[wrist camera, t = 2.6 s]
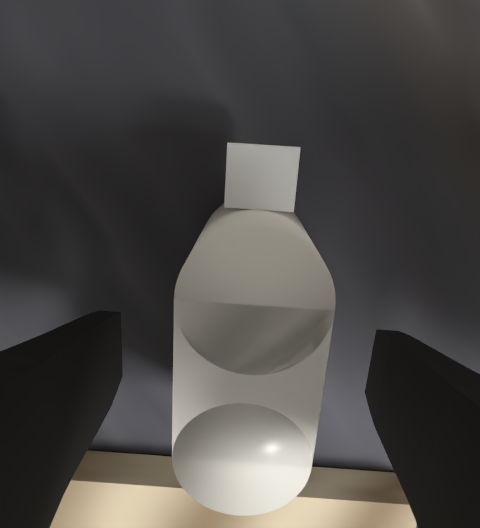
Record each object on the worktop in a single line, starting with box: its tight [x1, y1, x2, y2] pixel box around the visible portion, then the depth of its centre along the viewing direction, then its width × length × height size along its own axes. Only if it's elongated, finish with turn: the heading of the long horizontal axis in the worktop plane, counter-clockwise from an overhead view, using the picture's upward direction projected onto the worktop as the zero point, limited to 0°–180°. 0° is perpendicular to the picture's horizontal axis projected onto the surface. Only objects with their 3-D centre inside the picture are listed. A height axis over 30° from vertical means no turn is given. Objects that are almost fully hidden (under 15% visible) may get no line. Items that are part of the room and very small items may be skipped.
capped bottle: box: [172, 142, 336, 516], centre depth 12 cm, size 4×10×5 cm, turn 176°
